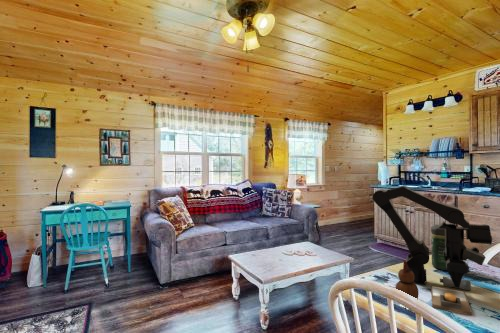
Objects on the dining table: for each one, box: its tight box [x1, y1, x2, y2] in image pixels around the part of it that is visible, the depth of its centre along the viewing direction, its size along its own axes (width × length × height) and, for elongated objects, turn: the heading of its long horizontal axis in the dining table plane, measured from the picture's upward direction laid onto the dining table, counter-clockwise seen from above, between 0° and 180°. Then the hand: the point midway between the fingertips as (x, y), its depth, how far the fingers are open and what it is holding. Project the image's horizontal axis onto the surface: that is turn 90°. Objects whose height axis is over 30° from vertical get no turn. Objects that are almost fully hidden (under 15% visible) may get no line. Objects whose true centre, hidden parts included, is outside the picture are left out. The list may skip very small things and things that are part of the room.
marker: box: [439, 275, 472, 291], centre depth 101 cm, size 9×3×3 cm, turn 57°
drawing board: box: [430, 285, 473, 316], centre depth 91 cm, size 10×15×2 cm, turn 147°
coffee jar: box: [430, 224, 447, 271], centre depth 121 cm, size 10×8×19 cm
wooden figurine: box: [394, 260, 419, 300], centre depth 90 cm, size 7×6×15 cm
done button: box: [445, 293, 456, 302], centre depth 87 cm, size 3×3×2 cm
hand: (455, 282), depth 100 cm, fingers open, 9 cm apart
